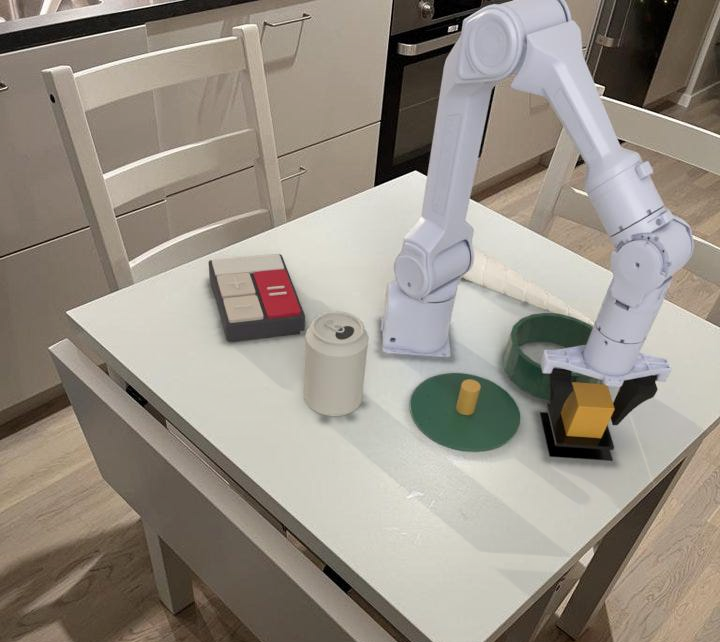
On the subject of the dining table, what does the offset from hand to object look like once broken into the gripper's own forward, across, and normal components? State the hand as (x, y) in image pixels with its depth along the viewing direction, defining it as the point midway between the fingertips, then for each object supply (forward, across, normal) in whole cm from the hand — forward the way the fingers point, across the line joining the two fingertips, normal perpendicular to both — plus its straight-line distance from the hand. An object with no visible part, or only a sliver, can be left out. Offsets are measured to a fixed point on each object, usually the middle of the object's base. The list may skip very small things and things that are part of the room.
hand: (583, 417), depth 91 cm
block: (+1, 0, 0) cm, 1 cm away
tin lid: (+3, -14, +3) cm, 15 cm away
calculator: (+4, -43, +23) cm, 49 cm away
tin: (+4, -1, +13) cm, 14 cm away
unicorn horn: (+4, -3, +31) cm, 31 cm away
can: (+4, -31, +4) cm, 32 cm away
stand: (+4, 0, 0) cm, 4 cm away
